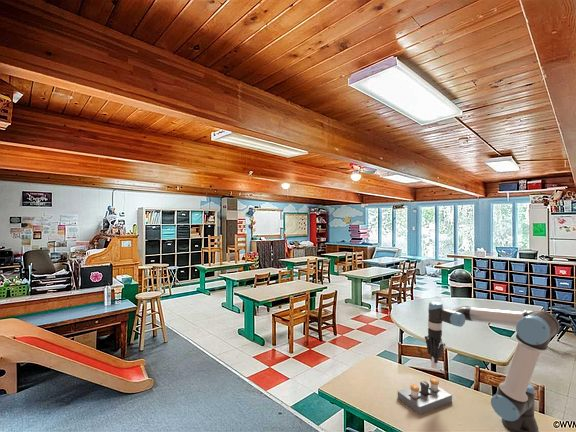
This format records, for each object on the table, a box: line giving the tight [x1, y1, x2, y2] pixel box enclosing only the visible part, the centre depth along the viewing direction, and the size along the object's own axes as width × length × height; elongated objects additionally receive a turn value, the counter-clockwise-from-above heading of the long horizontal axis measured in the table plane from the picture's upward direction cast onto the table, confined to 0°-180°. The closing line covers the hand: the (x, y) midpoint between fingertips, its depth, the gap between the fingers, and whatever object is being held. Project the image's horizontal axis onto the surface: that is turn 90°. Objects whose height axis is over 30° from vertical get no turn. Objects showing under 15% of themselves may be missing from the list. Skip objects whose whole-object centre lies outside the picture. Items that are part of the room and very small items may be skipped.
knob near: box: [409, 384, 419, 400], centre depth 175 cm, size 5×5×7 cm
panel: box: [397, 380, 453, 415], centre depth 178 cm, size 16×26×4 cm, turn 115°
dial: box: [419, 380, 429, 396], centre depth 178 cm, size 5×5×7 cm
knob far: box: [429, 377, 440, 393], centre depth 181 cm, size 5×5×7 cm
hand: (434, 367), depth 181 cm, fingers closed
